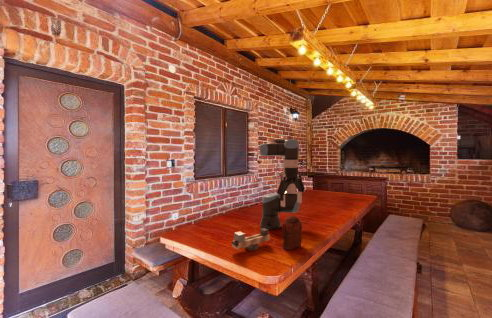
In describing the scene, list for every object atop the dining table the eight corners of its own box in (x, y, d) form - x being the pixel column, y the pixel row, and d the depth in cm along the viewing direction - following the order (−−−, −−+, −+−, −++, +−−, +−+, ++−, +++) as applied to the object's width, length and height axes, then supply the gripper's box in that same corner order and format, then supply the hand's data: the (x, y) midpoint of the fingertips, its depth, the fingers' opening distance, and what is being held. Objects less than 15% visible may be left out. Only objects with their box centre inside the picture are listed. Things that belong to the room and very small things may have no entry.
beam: (237, 255, 136) (237, 238, 136) (231, 251, 141) (231, 235, 141) (270, 245, 149) (270, 230, 149) (264, 242, 154) (263, 227, 154)
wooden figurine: (295, 243, 152) (295, 213, 151) (302, 246, 147) (302, 216, 146) (280, 247, 146) (280, 216, 145) (287, 251, 141) (287, 219, 140)
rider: (239, 244, 137) (238, 235, 137) (234, 241, 142) (234, 232, 141) (245, 243, 140) (245, 233, 139) (240, 240, 144) (240, 231, 143)
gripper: (280, 169, 131) (280, 209, 133) (311, 166, 146) (311, 202, 148) (270, 168, 137) (270, 206, 139) (301, 165, 152) (301, 200, 153)
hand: (291, 204), depth 143 cm, fingers open, 13 cm apart
